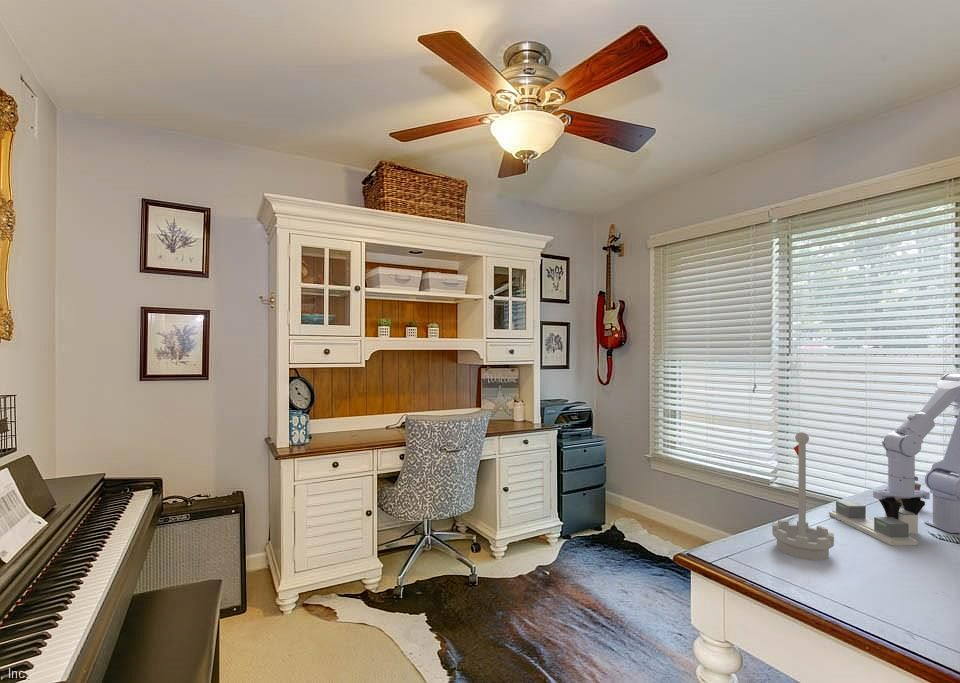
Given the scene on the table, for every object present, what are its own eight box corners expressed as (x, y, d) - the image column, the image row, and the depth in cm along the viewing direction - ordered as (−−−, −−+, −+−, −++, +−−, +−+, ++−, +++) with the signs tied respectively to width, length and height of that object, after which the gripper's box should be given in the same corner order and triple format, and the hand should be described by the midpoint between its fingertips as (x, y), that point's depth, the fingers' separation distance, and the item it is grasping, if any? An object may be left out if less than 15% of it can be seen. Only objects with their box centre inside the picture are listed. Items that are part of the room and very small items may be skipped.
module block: (898, 525, 141) (898, 506, 141) (917, 533, 135) (917, 514, 135) (885, 525, 141) (885, 506, 141) (903, 533, 135) (903, 514, 135)
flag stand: (844, 564, 116) (844, 438, 116) (784, 559, 119) (784, 436, 119) (818, 542, 129) (818, 428, 129) (764, 538, 131) (764, 426, 131)
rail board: (851, 515, 149) (851, 498, 149) (917, 545, 127) (917, 526, 127) (829, 515, 148) (829, 498, 148) (890, 545, 126) (890, 526, 126)
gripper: (913, 472, 142) (913, 518, 142) (864, 472, 142) (864, 518, 142) (936, 478, 135) (936, 528, 135) (885, 479, 135) (885, 528, 135)
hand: (901, 524), depth 138 cm, fingers open, 4 cm apart
